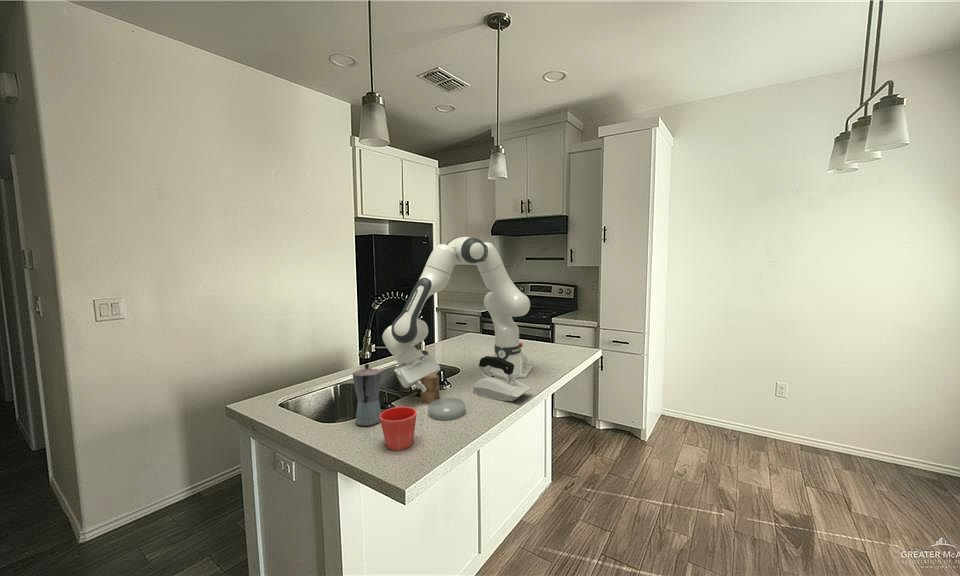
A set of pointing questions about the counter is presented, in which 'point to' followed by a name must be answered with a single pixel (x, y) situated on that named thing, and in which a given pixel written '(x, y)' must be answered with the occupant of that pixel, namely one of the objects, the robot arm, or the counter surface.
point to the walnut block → (430, 388)
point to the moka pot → (367, 395)
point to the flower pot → (398, 427)
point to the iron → (499, 381)
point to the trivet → (446, 409)
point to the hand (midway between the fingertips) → (431, 388)
